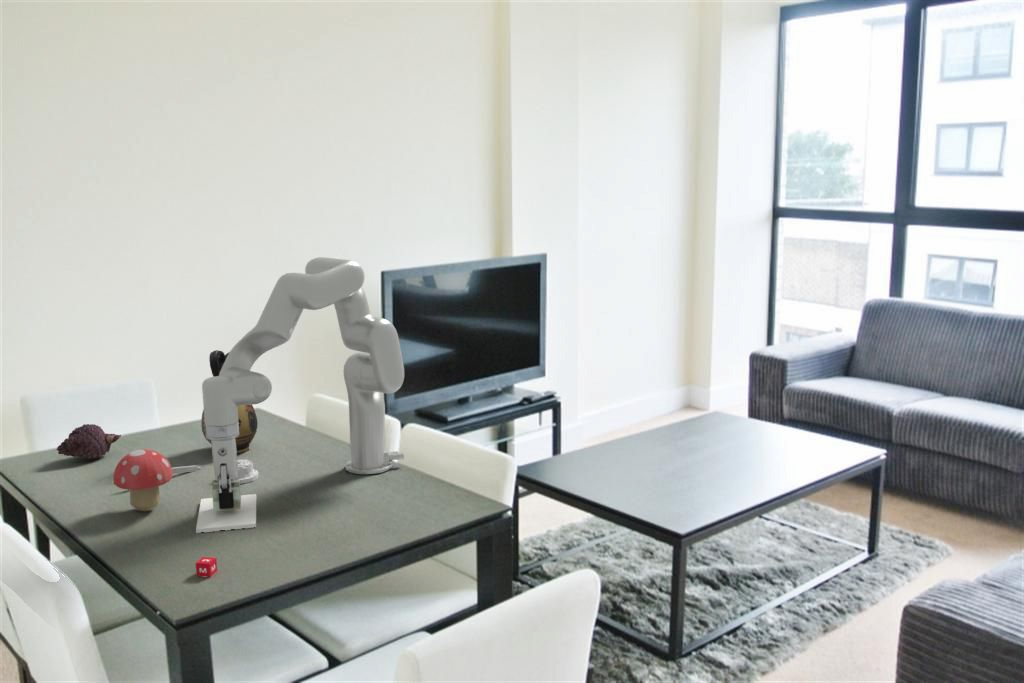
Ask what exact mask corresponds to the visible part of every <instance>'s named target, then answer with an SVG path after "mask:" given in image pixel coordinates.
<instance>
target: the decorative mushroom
mask: <svg viewBox="0 0 1024 683" xmlns="http://www.w3.org/2000/svg"><path fill="white" fill-rule="evenodd" d="M172 468H173V467H172V465H171V463H170V461H169V460H168V459H167V457H165V456H164V455H163V454H162V453H160V452H158V451H156V450H152V449H146V448H145V449H136V450H134V451H131V452H128V453H127V454H125V455H124V456H123V457H122V458H121V459H120V461H119V462H118V463H117V464H116V466H115V468H114V472H113V477H112V478H113V484H114V486H116V487H117V488H119V489H123V490H128V491H129V496H130V497H129V502H130V505H131V506H132V507H133V508H135V510H139V511H141V512H149V511H151V510H153V509H154V508H156V507H157V505H159V503H161V494H160V488H159V486H162V485H165V484H167V483H168V482H170V481H171V480H172V478H173V477H174V474H173V471H172Z"/></svg>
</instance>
